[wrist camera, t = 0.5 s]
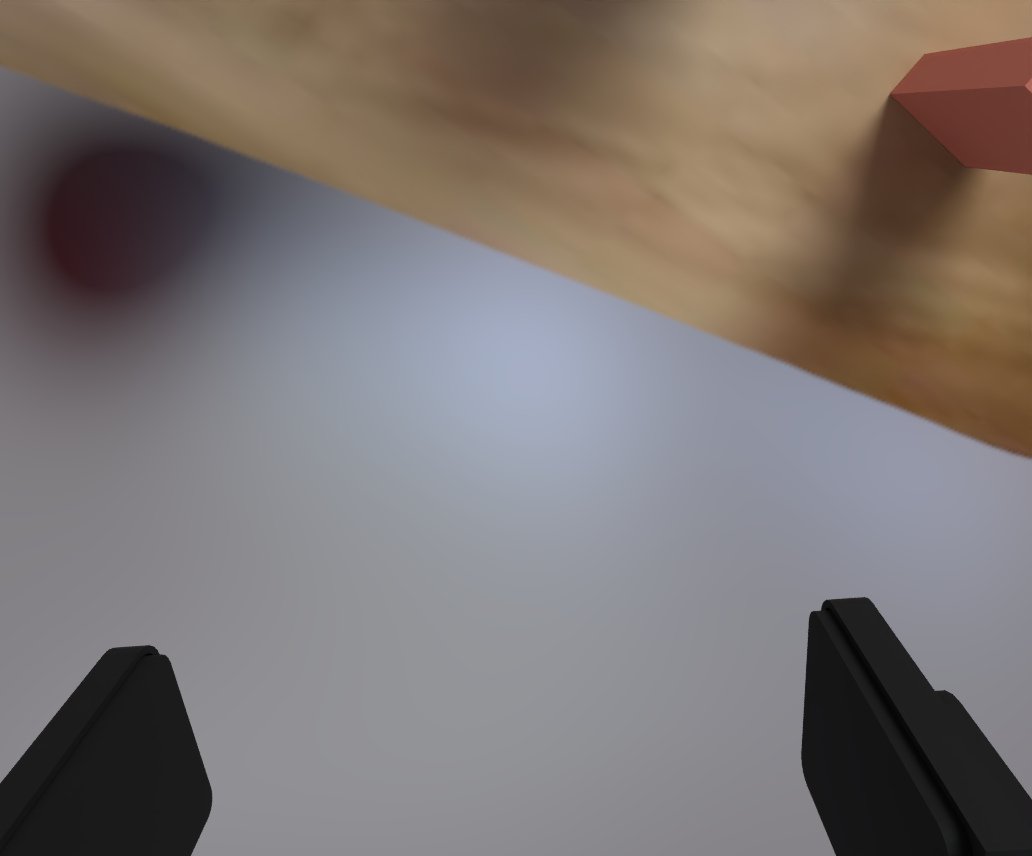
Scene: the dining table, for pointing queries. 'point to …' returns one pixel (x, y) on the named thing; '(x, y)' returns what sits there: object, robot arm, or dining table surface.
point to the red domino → (976, 103)
